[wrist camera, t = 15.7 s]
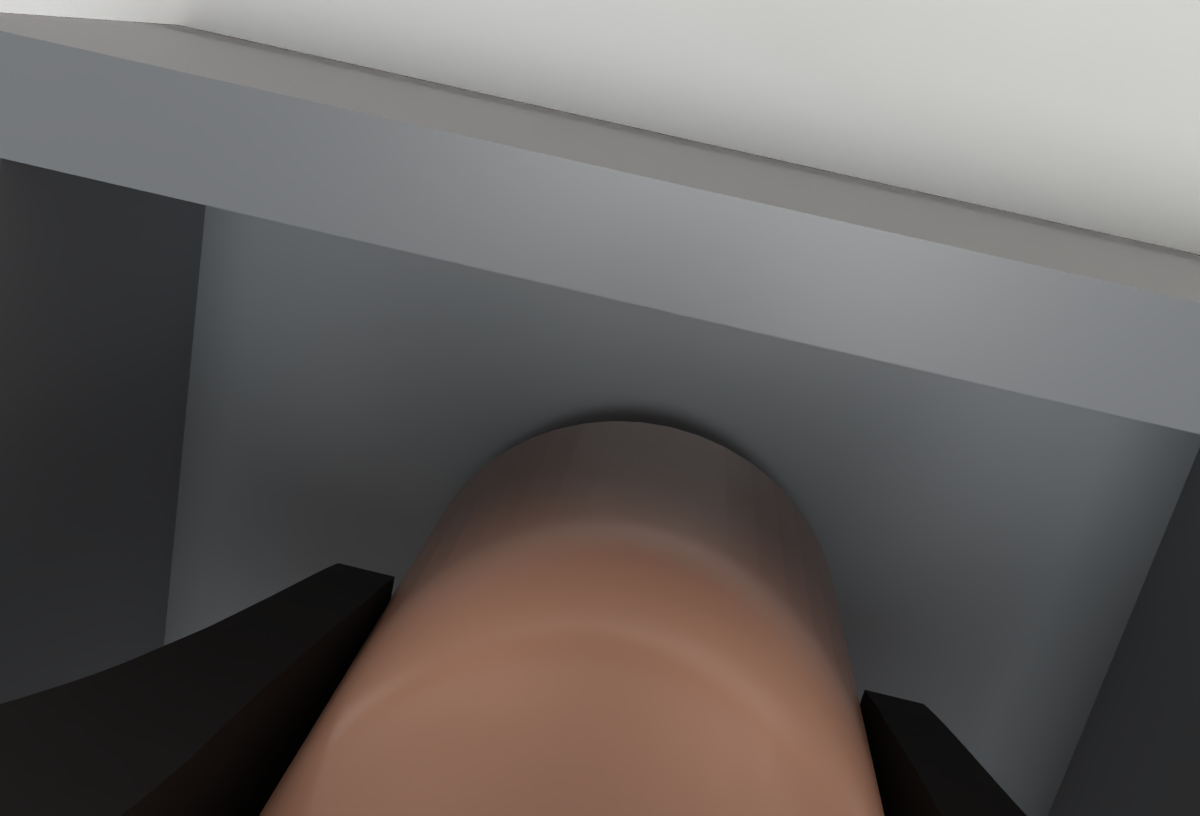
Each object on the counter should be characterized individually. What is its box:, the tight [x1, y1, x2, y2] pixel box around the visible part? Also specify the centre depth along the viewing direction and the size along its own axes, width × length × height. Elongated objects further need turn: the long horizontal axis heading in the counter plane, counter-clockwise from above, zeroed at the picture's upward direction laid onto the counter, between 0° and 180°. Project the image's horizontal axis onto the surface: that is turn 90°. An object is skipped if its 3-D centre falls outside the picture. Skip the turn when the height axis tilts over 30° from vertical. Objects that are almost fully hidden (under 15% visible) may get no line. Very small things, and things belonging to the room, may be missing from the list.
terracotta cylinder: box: [259, 421, 884, 816], centre depth 10 cm, size 5×5×7 cm
